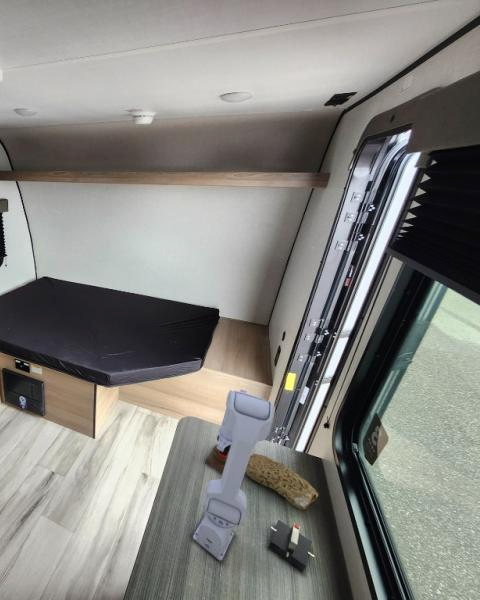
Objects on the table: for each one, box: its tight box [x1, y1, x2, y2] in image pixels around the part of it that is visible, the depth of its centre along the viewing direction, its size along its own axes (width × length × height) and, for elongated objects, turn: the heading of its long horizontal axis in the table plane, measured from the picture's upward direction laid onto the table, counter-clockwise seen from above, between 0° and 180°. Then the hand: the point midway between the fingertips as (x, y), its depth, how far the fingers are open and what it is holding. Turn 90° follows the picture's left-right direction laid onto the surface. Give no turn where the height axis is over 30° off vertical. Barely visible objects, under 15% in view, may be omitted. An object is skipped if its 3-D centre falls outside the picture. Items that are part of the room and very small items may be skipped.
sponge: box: [245, 453, 319, 511], centre depth 100 cm, size 13×8×20 cm
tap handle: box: [287, 522, 301, 552], centre depth 83 cm, size 6×1×4 cm, turn 141°
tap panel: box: [268, 519, 315, 573], centre depth 84 cm, size 10×10×3 cm
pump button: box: [217, 450, 228, 459], centre depth 109 cm, size 4×4×2 cm
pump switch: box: [205, 443, 229, 475], centre depth 109 cm, size 10×7×4 cm
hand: (223, 453), depth 108 cm, fingers closed, pressing on pump button
